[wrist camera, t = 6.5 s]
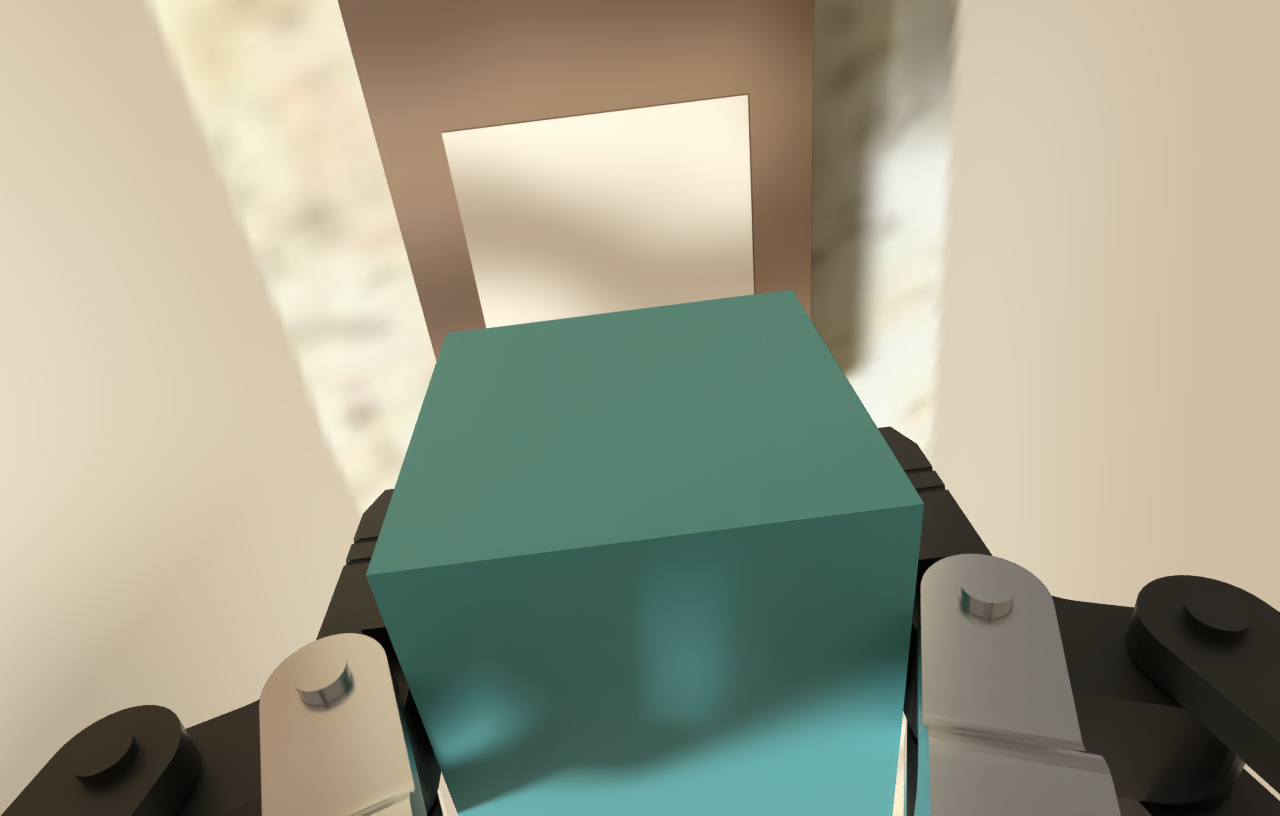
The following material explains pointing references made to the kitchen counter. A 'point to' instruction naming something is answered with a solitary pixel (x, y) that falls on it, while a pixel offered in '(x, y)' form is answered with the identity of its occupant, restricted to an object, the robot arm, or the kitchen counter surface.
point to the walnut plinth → (591, 151)
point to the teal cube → (653, 569)
